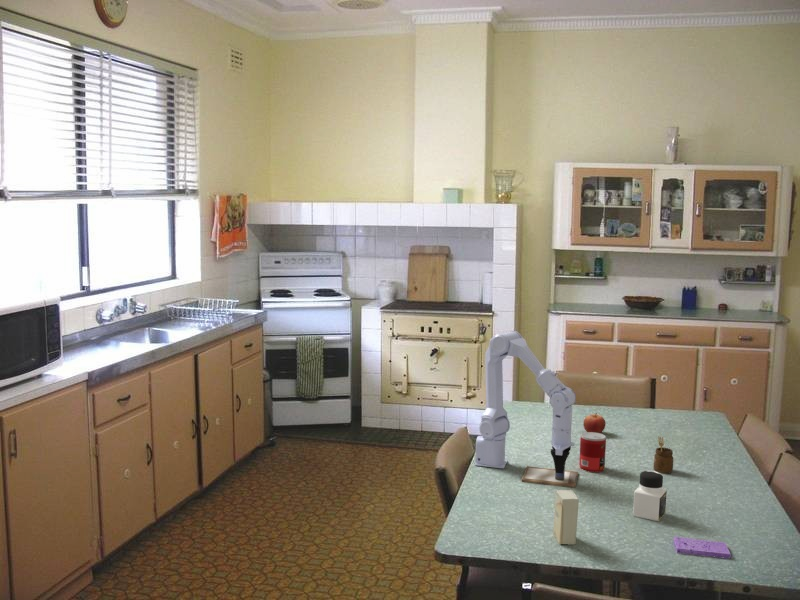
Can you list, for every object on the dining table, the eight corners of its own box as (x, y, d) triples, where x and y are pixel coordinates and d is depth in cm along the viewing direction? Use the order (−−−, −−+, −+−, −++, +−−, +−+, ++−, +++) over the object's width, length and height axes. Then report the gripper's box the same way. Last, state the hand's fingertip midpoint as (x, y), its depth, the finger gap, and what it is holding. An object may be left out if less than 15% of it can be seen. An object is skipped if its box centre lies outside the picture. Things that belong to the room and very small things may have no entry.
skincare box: (552, 534, 204) (554, 489, 202) (569, 534, 204) (571, 489, 203) (559, 545, 197) (561, 498, 196) (577, 545, 198) (579, 498, 196)
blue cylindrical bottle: (554, 479, 242) (555, 453, 241) (555, 476, 244) (556, 450, 243) (564, 480, 241) (565, 454, 240) (564, 477, 244) (565, 451, 243)
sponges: (673, 543, 201) (673, 536, 201) (725, 548, 198) (726, 541, 198) (676, 555, 194) (676, 547, 194) (730, 560, 192) (731, 553, 191)
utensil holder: (675, 470, 254) (678, 434, 252) (667, 475, 249) (669, 438, 248) (658, 466, 258) (660, 430, 256) (649, 471, 253) (651, 434, 252)
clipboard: (521, 481, 242) (521, 478, 242) (527, 468, 254) (527, 464, 254) (575, 487, 237) (575, 484, 237) (577, 473, 250) (578, 470, 250)
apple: (608, 432, 295) (609, 412, 294) (601, 438, 288) (602, 416, 287) (587, 429, 299) (588, 408, 298) (580, 434, 292) (580, 413, 291)
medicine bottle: (659, 522, 213) (661, 479, 211) (632, 516, 217) (634, 474, 215) (665, 513, 219) (668, 471, 217) (639, 507, 223) (642, 466, 221)
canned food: (605, 473, 250) (606, 439, 249) (579, 471, 252) (580, 438, 251) (603, 465, 258) (605, 433, 256) (578, 463, 259) (580, 431, 258)
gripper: (573, 436, 233) (571, 480, 234) (576, 422, 246) (574, 464, 248) (549, 433, 234) (547, 477, 236) (553, 420, 248) (551, 462, 250)
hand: (559, 471), depth 242 cm, fingers closed on blue cylindrical bottle, 3 cm apart
